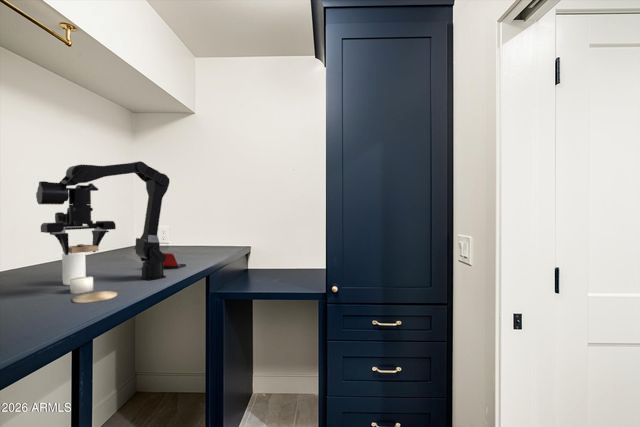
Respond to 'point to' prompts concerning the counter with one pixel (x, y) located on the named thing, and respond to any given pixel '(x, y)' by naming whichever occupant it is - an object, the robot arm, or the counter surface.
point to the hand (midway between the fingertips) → (80, 253)
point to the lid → (82, 248)
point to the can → (73, 266)
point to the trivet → (94, 297)
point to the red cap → (171, 262)
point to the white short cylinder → (81, 285)
